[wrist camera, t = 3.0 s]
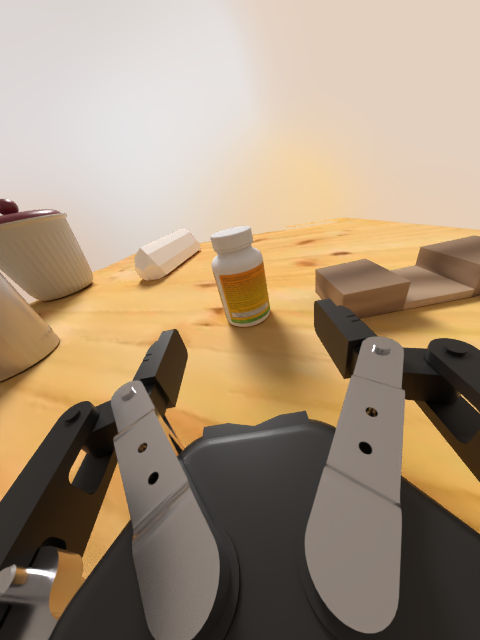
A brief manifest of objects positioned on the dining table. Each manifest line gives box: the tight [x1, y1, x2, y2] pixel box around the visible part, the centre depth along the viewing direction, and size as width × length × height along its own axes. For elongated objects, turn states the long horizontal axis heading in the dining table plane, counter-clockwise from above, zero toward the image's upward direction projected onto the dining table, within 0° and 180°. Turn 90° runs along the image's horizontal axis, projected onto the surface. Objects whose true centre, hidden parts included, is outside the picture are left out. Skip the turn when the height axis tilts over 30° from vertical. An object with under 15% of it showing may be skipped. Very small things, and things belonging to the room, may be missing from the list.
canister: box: [0, 199, 93, 301], centre depth 46 cm, size 18×18×21 cm
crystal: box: [135, 228, 201, 280], centre depth 52 cm, size 7×7×24 cm
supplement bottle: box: [211, 226, 270, 327], centre depth 22 cm, size 5×5×10 cm
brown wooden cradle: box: [316, 236, 480, 318], centre depth 21 cm, size 7×18×3 cm, turn 93°
